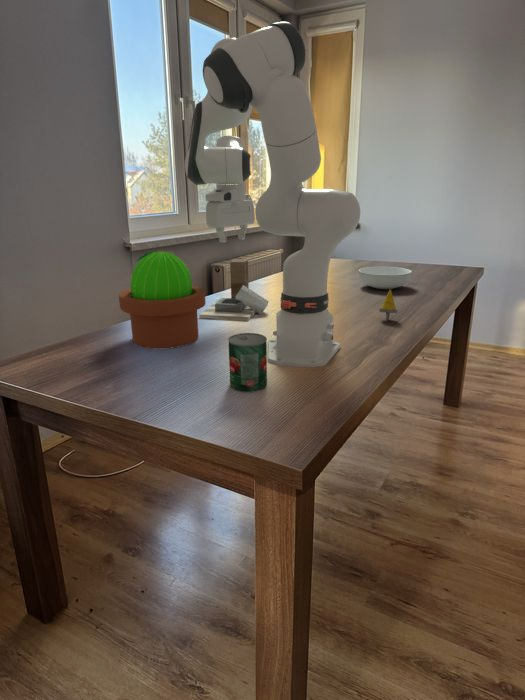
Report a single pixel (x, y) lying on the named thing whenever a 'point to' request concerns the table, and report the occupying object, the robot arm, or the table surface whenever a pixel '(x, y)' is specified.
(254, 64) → the robot arm
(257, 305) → the gray rectangular block
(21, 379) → the table surface
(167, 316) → the potted cactus
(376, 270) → the serving bowl
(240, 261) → the socket board with post
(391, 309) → the yellow cone on disc
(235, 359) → the canned tomato
